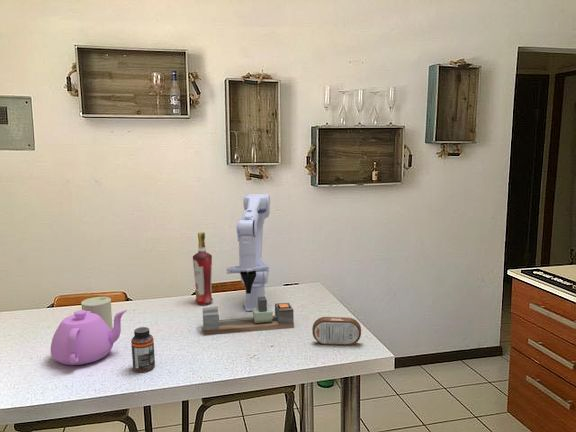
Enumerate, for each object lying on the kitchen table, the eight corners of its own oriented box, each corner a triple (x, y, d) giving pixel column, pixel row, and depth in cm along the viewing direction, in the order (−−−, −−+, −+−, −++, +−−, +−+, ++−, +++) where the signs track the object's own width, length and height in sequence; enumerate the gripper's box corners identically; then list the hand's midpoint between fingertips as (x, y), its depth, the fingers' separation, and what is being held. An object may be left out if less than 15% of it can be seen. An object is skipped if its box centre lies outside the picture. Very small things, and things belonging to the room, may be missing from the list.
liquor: (191, 303, 193) (188, 233, 189) (206, 299, 198) (204, 230, 194) (201, 307, 187) (198, 235, 183) (217, 303, 192) (214, 232, 188)
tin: (361, 342, 152) (361, 316, 151) (361, 346, 149) (361, 320, 148) (312, 341, 154) (312, 315, 152) (312, 345, 151) (311, 319, 149)
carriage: (252, 317, 170) (252, 296, 169) (269, 316, 171) (269, 295, 170) (255, 324, 164) (254, 301, 163) (272, 322, 165) (272, 300, 164)
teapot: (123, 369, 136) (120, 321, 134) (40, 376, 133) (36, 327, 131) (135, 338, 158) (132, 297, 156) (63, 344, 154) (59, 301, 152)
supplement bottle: (135, 363, 139) (133, 325, 138) (156, 362, 140) (154, 324, 138) (130, 373, 133) (128, 333, 132) (152, 372, 134) (150, 332, 132)
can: (119, 331, 164) (117, 297, 162) (98, 342, 155) (95, 305, 154) (98, 327, 168) (96, 294, 166) (77, 337, 159) (74, 302, 158)
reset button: (279, 314, 170) (278, 304, 170) (287, 313, 171) (287, 303, 170) (280, 317, 167) (280, 307, 167) (289, 316, 168) (289, 306, 167)
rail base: (203, 325, 168) (202, 307, 168) (288, 318, 174) (288, 300, 173) (203, 335, 160) (203, 316, 159) (293, 327, 165) (293, 308, 165)
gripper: (227, 257, 163) (228, 297, 165) (270, 255, 166) (270, 294, 168) (225, 253, 170) (226, 291, 172) (267, 251, 173) (267, 289, 175)
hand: (248, 292), depth 170 cm, fingers closed
